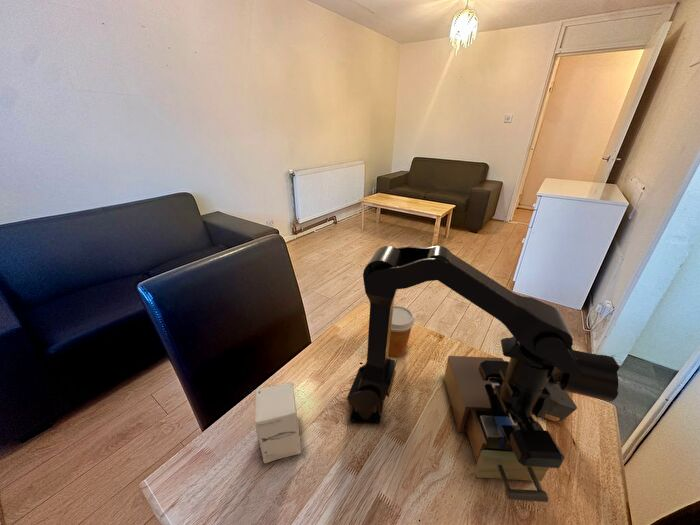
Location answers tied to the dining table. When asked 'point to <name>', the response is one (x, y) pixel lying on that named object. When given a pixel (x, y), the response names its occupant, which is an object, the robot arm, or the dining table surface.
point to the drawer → (502, 462)
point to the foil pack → (494, 430)
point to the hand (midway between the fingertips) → (503, 435)
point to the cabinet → (466, 386)
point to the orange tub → (400, 330)
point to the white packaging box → (277, 422)
